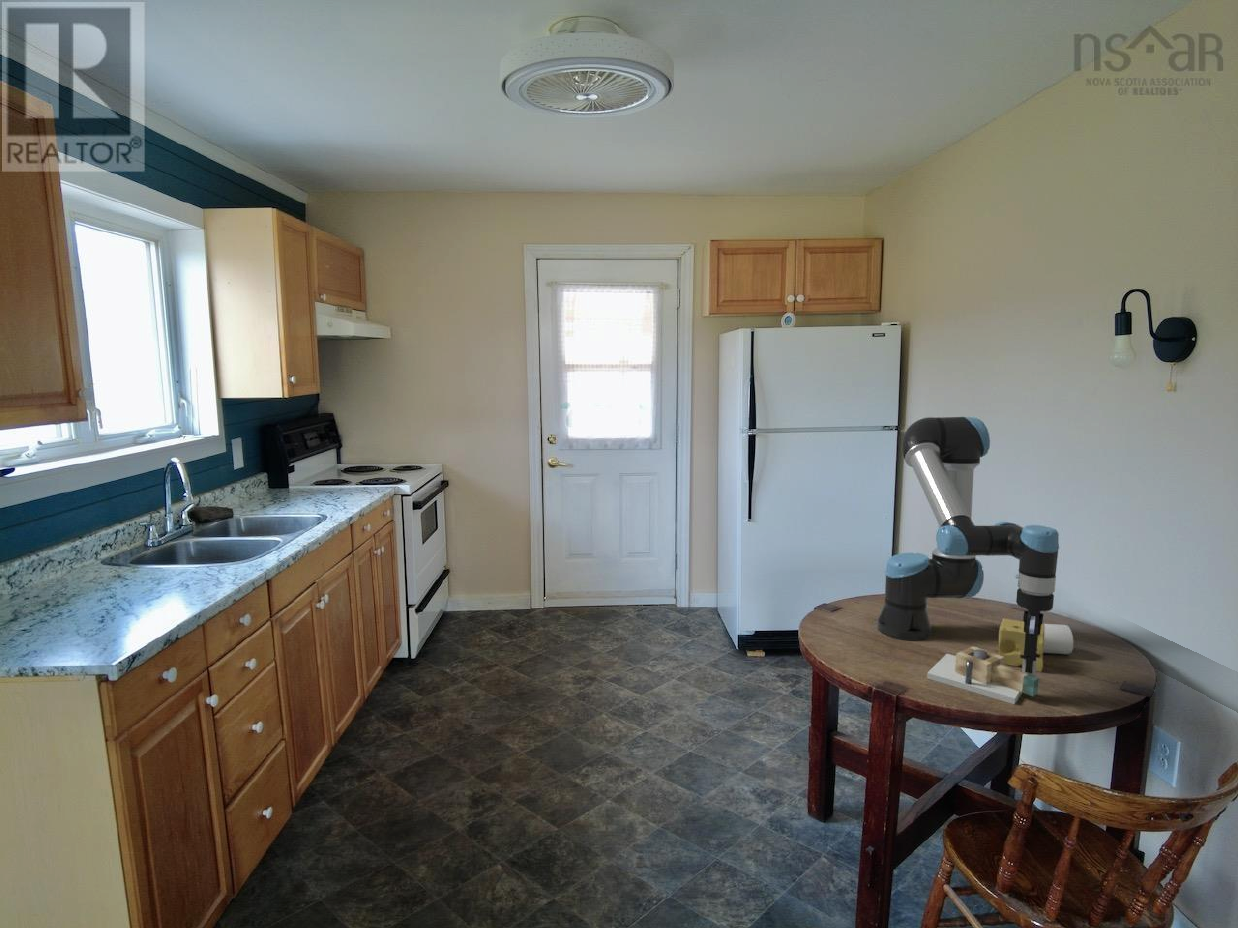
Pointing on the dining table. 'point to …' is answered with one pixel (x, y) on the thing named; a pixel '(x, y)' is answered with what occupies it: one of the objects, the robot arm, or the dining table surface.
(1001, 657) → the wooden frame with handle
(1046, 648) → the mug
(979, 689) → the base
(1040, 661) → the cheese
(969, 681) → the dowel
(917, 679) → the dining table surface
